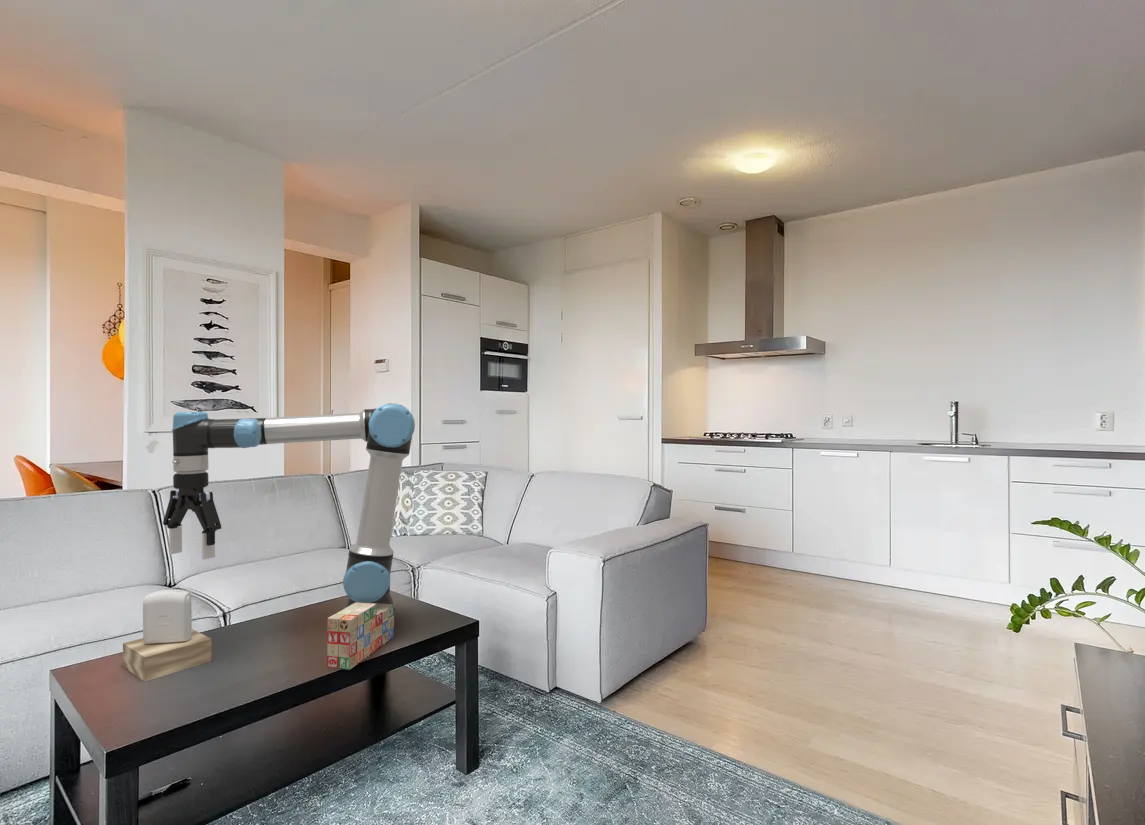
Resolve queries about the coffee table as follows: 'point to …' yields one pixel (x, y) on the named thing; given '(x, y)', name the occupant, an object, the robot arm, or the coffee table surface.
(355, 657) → the stack of blocks
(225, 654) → the coffee table surface
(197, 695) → the coffee table surface
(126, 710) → the coffee table surface
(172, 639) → the photo printer
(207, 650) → the birch box
